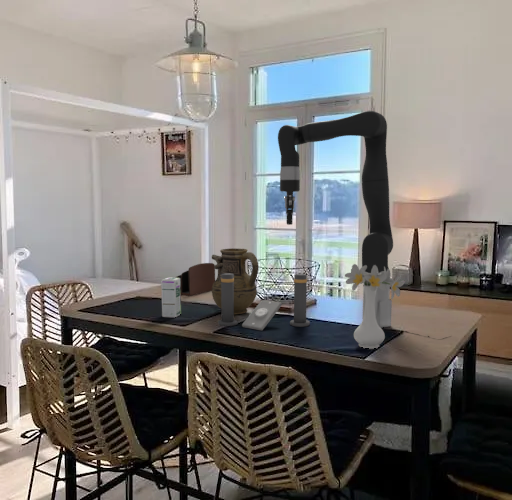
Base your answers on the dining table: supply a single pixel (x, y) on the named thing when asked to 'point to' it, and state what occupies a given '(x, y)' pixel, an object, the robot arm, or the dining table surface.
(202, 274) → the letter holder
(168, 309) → the syrup box
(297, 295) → the post
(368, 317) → the flower vase
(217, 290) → the decorative pitcher
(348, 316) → the dining table surface
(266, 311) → the light switch
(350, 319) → the dining table surface
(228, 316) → the post
